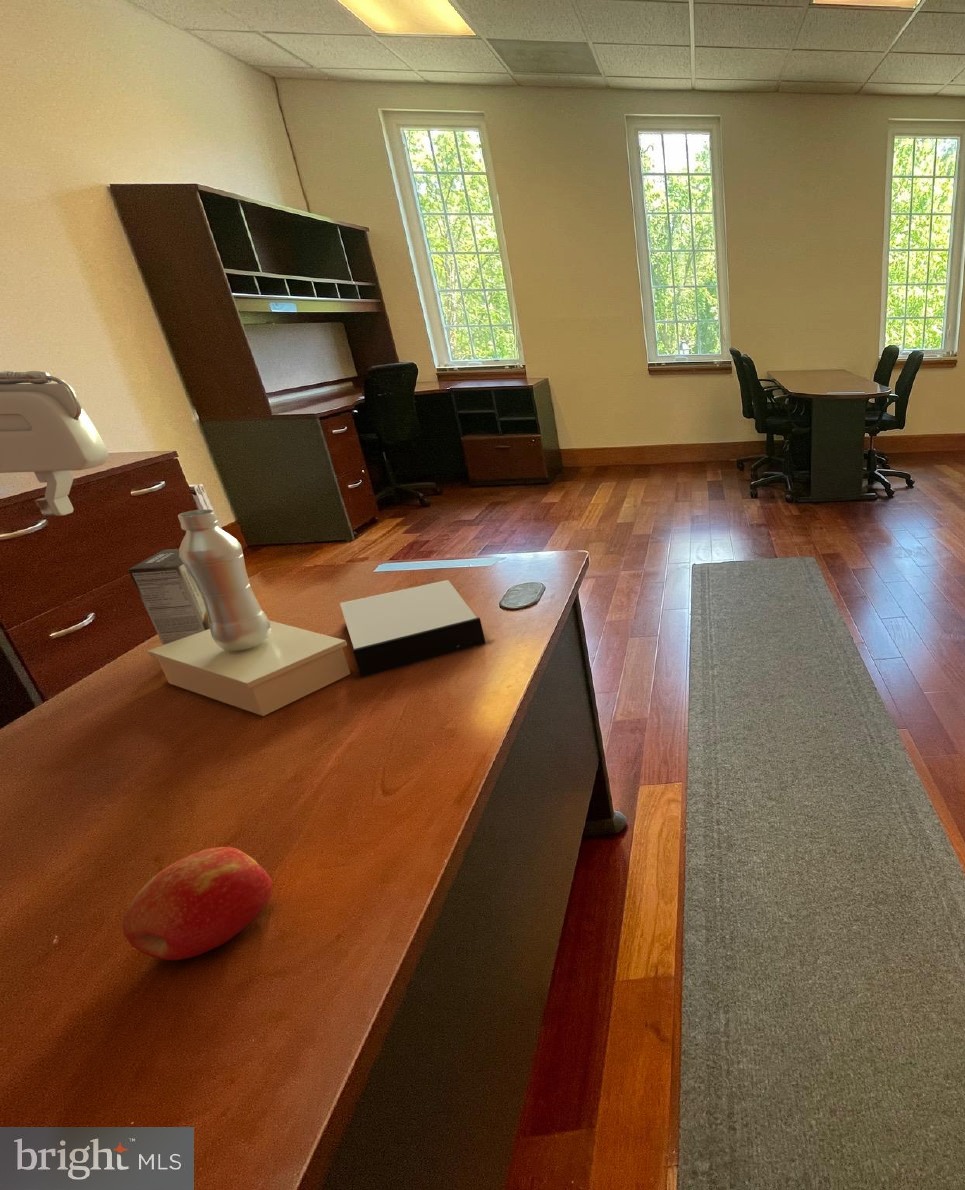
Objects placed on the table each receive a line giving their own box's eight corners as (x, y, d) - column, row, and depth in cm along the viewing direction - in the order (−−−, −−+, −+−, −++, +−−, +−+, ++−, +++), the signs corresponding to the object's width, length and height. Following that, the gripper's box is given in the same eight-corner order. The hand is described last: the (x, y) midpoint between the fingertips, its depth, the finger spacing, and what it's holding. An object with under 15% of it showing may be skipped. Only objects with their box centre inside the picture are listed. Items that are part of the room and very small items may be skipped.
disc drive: (361, 679, 92) (352, 650, 90) (345, 627, 108) (337, 601, 106) (486, 645, 102) (480, 618, 100) (454, 602, 118) (449, 578, 116)
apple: (297, 913, 55) (267, 848, 52) (182, 998, 48) (140, 928, 45) (245, 884, 58) (214, 819, 55) (130, 960, 51) (86, 891, 48)
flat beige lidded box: (163, 686, 90) (146, 650, 87) (261, 647, 101) (249, 614, 98) (262, 721, 82) (246, 683, 80) (356, 675, 93) (345, 640, 91)
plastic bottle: (208, 659, 85) (149, 521, 77) (234, 637, 91) (182, 508, 83) (262, 653, 87) (210, 518, 79) (284, 632, 93) (238, 505, 85)
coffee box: (200, 638, 103) (162, 549, 97) (246, 633, 105) (211, 545, 99) (168, 664, 95) (124, 568, 89) (218, 658, 97) (178, 564, 91)
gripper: (90, 369, 61) (148, 503, 66) (-179, 369, 56) (-93, 514, 62) (35, 373, 55) (102, 519, 61) (-269, 374, 51) (-166, 532, 56)
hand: (2, 517), depth 61 cm, fingers open, 8 cm apart
